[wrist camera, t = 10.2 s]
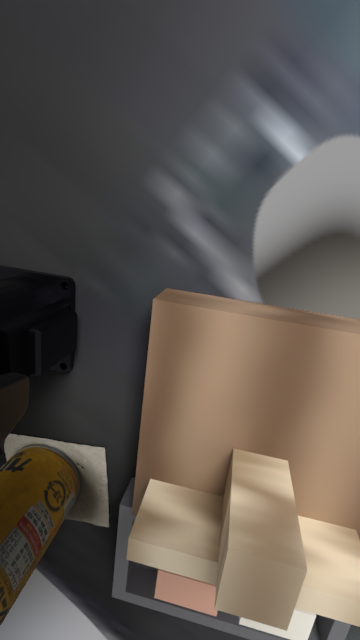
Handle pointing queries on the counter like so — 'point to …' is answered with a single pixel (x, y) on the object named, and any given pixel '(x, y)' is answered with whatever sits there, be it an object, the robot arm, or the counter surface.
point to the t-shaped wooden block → (251, 545)
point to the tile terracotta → (186, 592)
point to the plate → (252, 399)
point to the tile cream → (296, 629)
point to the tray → (139, 589)
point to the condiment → (44, 502)
